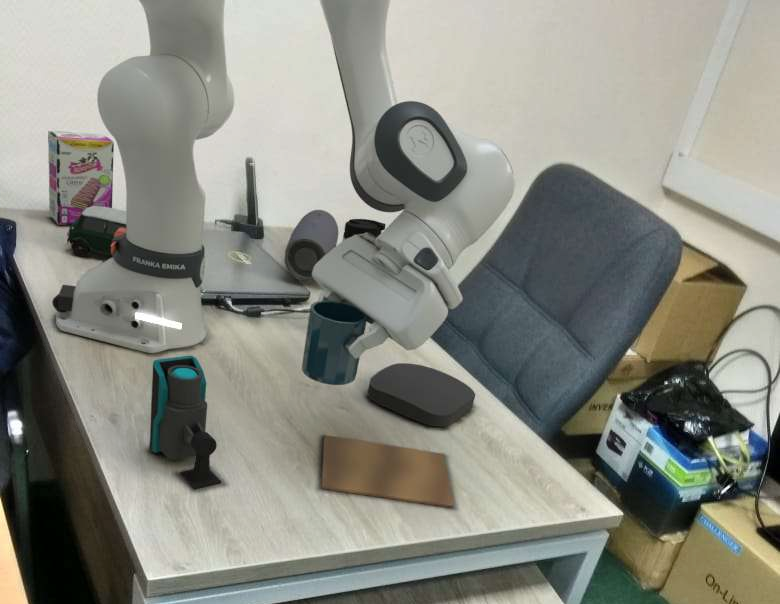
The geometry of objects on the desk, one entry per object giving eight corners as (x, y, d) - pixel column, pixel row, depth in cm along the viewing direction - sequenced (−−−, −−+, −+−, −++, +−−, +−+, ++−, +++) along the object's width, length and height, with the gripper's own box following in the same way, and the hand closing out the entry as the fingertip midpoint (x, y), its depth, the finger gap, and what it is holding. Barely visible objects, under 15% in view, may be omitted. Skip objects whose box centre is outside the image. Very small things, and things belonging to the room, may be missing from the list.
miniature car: (161, 274, 148) (163, 230, 144) (62, 253, 147) (61, 208, 142) (174, 259, 156) (176, 217, 151) (79, 239, 154) (79, 196, 150)
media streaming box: (440, 434, 119) (445, 416, 117) (357, 397, 124) (361, 379, 122) (479, 404, 130) (484, 387, 129) (402, 371, 135) (406, 354, 133)
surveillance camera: (193, 399, 88) (150, 360, 93) (186, 491, 94) (147, 449, 100) (238, 392, 91) (194, 354, 97) (228, 481, 98) (188, 441, 103)
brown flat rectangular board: (321, 488, 101) (322, 486, 100) (323, 437, 111) (324, 435, 111) (452, 507, 103) (453, 505, 103) (442, 456, 114) (443, 453, 114)
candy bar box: (58, 226, 158) (56, 137, 149) (49, 218, 161) (46, 129, 151) (113, 226, 165) (114, 140, 156) (103, 217, 167) (103, 133, 158)
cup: (300, 379, 97) (309, 317, 93) (302, 357, 103) (311, 296, 98) (355, 388, 98) (367, 327, 94) (355, 365, 104) (366, 306, 99)
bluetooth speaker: (294, 249, 177) (301, 202, 171) (336, 258, 177) (344, 212, 172) (278, 281, 158) (284, 230, 152) (324, 291, 158) (333, 241, 153)
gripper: (350, 210, 102) (274, 289, 101) (452, 270, 89) (366, 359, 89) (372, 245, 107) (299, 320, 106) (471, 306, 94) (390, 390, 94)
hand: (330, 338), depth 98 cm, fingers closed on cup, 7 cm apart
